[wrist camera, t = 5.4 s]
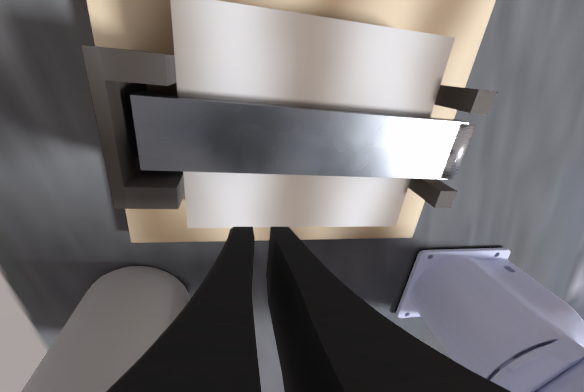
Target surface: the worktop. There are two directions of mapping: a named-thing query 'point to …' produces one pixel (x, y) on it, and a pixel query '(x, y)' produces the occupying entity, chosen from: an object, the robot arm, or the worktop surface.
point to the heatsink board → (279, 103)
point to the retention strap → (292, 139)
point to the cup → (110, 330)
